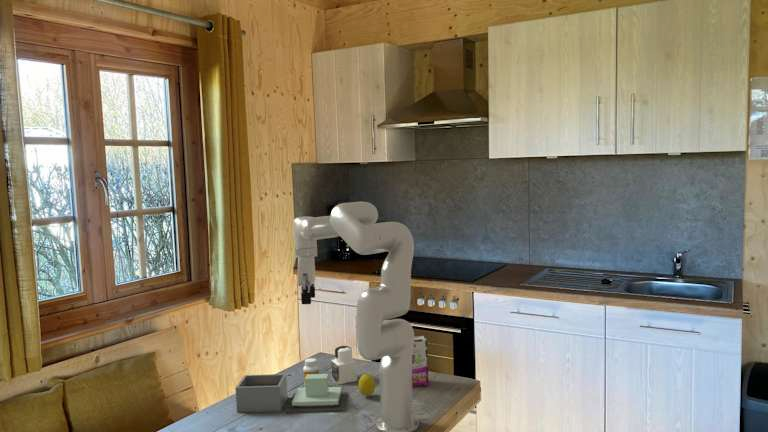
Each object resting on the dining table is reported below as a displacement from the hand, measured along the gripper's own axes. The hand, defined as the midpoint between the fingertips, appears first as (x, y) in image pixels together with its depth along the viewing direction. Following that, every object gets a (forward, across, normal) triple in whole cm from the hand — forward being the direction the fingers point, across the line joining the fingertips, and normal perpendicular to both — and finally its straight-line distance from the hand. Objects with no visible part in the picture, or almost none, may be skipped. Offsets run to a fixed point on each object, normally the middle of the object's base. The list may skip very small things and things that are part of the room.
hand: (308, 300), depth 201 cm
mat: (+30, +16, +4) cm, 34 cm away
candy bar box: (+31, +2, +35) cm, 46 cm away
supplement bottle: (+31, +2, 0) cm, 31 cm away
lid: (+28, +16, +4) cm, 33 cm away
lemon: (+31, +12, +20) cm, 38 cm away
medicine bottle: (+31, -4, +11) cm, 33 cm away
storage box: (+30, +16, -14) cm, 37 cm away
